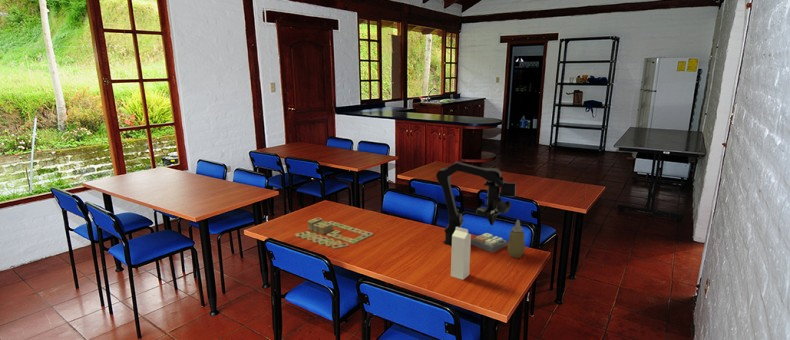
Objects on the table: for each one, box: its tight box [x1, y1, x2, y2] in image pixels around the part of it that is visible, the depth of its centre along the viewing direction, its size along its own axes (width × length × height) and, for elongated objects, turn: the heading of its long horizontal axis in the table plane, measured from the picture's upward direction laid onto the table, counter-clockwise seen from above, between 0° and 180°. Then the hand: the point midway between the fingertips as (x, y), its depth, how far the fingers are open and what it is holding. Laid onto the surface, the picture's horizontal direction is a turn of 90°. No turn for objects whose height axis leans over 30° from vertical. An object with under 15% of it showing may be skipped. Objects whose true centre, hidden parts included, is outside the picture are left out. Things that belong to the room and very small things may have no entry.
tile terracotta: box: [474, 234, 487, 243], centre depth 215 cm, size 4×4×2 cm
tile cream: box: [485, 239, 497, 246], centre depth 211 cm, size 4×4×2 cm
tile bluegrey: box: [491, 235, 504, 244], centre depth 214 cm, size 4×4×2 cm
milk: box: [450, 227, 472, 281], centre depth 181 cm, size 6×6×22 cm
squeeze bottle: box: [506, 219, 526, 259], centre depth 202 cm, size 8×8×18 cm
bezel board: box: [471, 234, 508, 254], centre depth 215 cm, size 12×13×3 cm
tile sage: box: [481, 232, 494, 240], centre depth 219 cm, size 4×4×2 cm
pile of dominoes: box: [294, 217, 374, 250], centre depth 228 cm, size 35×27×6 cm
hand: (491, 224), depth 209 cm, fingers closed
